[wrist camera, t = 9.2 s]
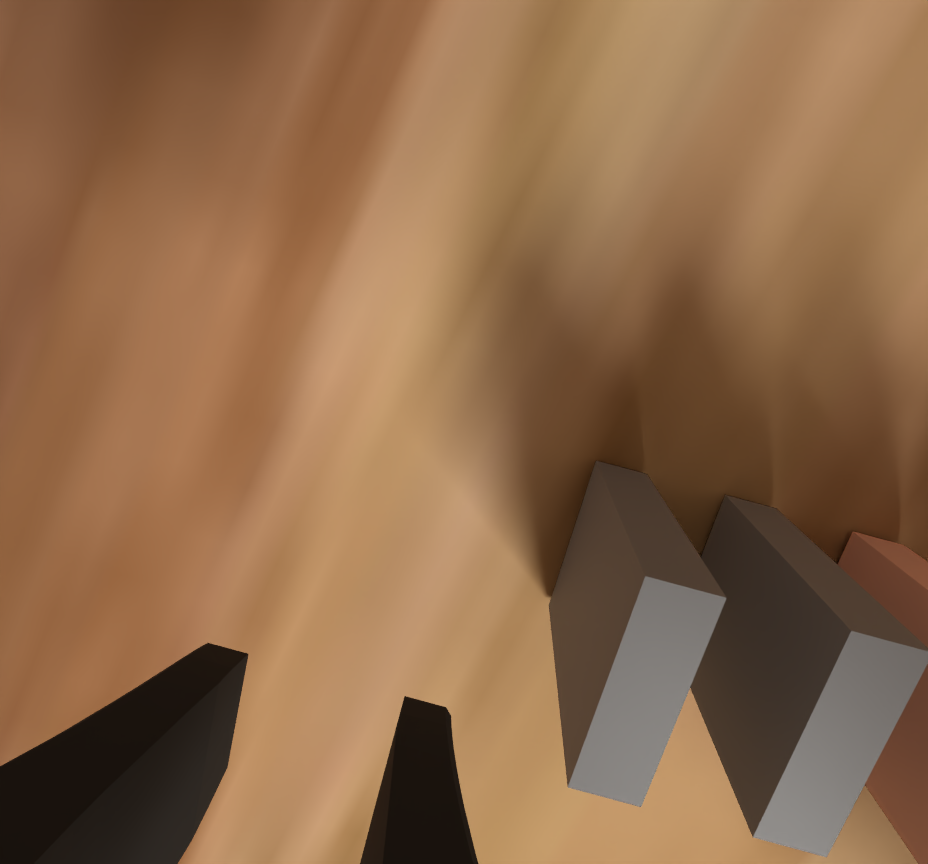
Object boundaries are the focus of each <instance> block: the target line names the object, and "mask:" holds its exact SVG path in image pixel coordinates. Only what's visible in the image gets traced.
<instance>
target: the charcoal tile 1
mask: <svg viewBox="0 0 928 864" xmlns="http://www.w3.org/2000/svg"><path fill="white" fill-rule="evenodd" d="M726 599H727V597H726V596H725V594H724V593H723V591H722V590H721V588H720V587H719V585H718V583H717V582H716V580H715V579H714V577H713V576H712V574H711V573H710V571H709V570H708V568H707V566H706V565H705V563H704V562H703V560H702V559H701V557H700V556H699V554H698V552H697V551H696V549H695V548H694V546H693V545H692V543H691V542H690V540H689V539H688V537H687V535H686V534H685V532H684V531H683V529H682V528H681V526H680V525H679V523H678V521H677V520H676V518H675V517H674V515H673V514H672V512H671V511H670V509H669V507H668V506H667V504H666V503H665V501H664V500H663V498H662V497H661V495H660V494H659V492H658V490H657V489H656V487H655V486H654V484H653V483H652V481H651V480H650V478H649V476H648V475H647V474H645V473H641V472H637V471H633V470H630V469H626V468H622V467H618V466H615V465H611V464H607V463H603V462H599V461H596V462H595V465H594V468H593V472H592V475H591V478H590V481H589V484H588V487H587V490H586V493H585V496H584V499H583V502H582V505H581V508H580V511H579V514H578V518H577V521H576V524H575V527H574V530H573V533H572V536H571V539H570V542H569V545H568V548H567V551H566V554H565V557H564V560H563V564H562V567H561V570H560V573H559V576H558V579H557V582H556V585H555V588H554V591H553V594H552V597H551V600H550V603H549V612H550V621H551V631H552V640H553V650H554V660H555V669H556V679H557V688H558V698H559V708H560V717H561V727H562V736H563V746H564V756H565V765H566V775H567V784H568V787H569V788H572V789H576V790H580V791H583V792H587V793H591V794H595V795H598V796H602V797H606V798H609V799H613V800H617V801H620V802H624V803H628V804H632V805H635V806H639V807H641V806H642V803H643V801H644V799H645V796H646V794H647V791H648V789H649V786H650V784H651V781H652V779H653V777H654V774H655V772H656V769H657V767H658V764H659V762H660V760H661V757H662V755H663V752H664V750H665V747H666V745H667V742H668V740H669V738H670V735H671V733H672V730H673V728H674V725H675V723H676V721H677V718H678V716H679V713H680V711H681V708H682V706H683V703H684V701H685V699H686V696H687V694H688V691H689V689H690V686H691V684H692V682H693V679H694V677H695V674H696V672H697V669H698V667H699V664H700V662H701V660H702V657H703V655H704V652H705V650H706V647H707V645H708V643H709V640H710V638H711V635H712V633H713V630H714V628H715V625H716V623H717V621H718V618H719V616H720V613H721V611H722V608H723V606H724V604H725V601H726Z"/></svg>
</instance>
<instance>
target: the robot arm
mask: <svg viewBox="0 0 928 864" xmlns="http://www.w3.org/2000/svg"><path fill="white" fill-rule="evenodd" d="M247 659H248V654H247V653H243V652H240V651H236V650H232V649H228V648H225V647H221V646H217V645H214V644H210V643H207V644H205V645H203V646H201V647H200V648H198V649H196V650H195V651H193V652H191V653H190V654H188V655H187V656H185V657H183V658H182V659H180V660H179V661H177V662H176V663H174V664H173V665H171V666H169V667H168V668H166V669H165V670H163V671H162V672H160V673H158V674H157V675H155V676H154V677H152V678H151V679H149V680H147V681H146V682H144V683H143V684H141V685H139V686H138V687H136V688H135V689H133V690H131V691H130V692H128V693H127V694H125V695H124V696H122V697H120V698H119V699H117V700H115V701H114V702H112V703H110V704H109V705H107V706H105V707H104V708H102V709H100V710H99V711H97V712H95V713H94V714H92V715H90V716H89V717H87V718H85V719H84V720H82V721H80V722H79V723H77V724H75V725H74V726H72V727H70V728H69V729H67V730H65V731H63V732H62V733H60V734H58V735H56V736H55V737H53V738H51V739H49V740H47V741H46V742H44V743H42V744H40V745H38V746H37V747H35V748H33V749H31V750H29V751H27V752H26V753H24V754H22V755H20V756H18V757H16V758H15V759H13V760H11V761H9V762H7V763H5V764H4V765H2V766H0V864H178V862H179V860H180V859H181V857H182V855H183V854H184V852H185V851H186V849H187V847H188V846H189V844H190V842H191V841H192V839H193V837H194V835H195V833H196V831H197V829H198V827H199V825H200V823H201V821H202V819H203V817H204V815H205V813H206V811H207V809H208V807H209V804H210V802H211V800H212V798H213V796H214V794H215V792H216V790H217V788H218V786H219V784H220V782H221V779H222V777H223V775H224V773H225V771H226V769H227V766H228V761H229V756H230V750H231V745H232V739H233V734H234V729H235V723H236V718H237V713H238V707H239V702H240V696H241V691H242V686H243V680H244V675H245V670H246V664H247ZM360 864H478V861H477V858H476V854H475V850H474V846H473V841H472V837H471V833H470V829H469V825H468V821H467V817H466V813H465V808H464V804H463V799H462V794H461V789H460V784H459V778H458V773H457V767H456V761H455V755H454V747H453V739H452V728H451V715H450V714H449V712H448V710H447V708H446V707H443V706H439V705H435V704H432V703H428V702H424V701H421V700H417V699H413V698H409V697H406V696H405V697H404V701H403V705H402V708H401V712H400V716H399V719H398V723H397V727H396V731H395V734H394V738H393V742H392V745H391V749H390V753H389V757H388V760H387V764H386V768H385V772H384V775H383V779H382V783H381V786H380V790H379V794H378V798H377V801H376V805H375V809H374V813H373V816H372V820H371V824H370V828H369V832H368V836H367V839H366V843H365V847H364V851H363V855H362V859H361V863H360Z"/></svg>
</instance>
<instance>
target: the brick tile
mask: <svg viewBox="0 0 928 864" xmlns="http://www.w3.org/2000/svg"><path fill="white" fill-rule="evenodd" d="M838 566H839V567H841V568H842V569H843V570H844V571H845V572H846V573H847V574H848V575H849V576H850V577H851V578H853V579H854V580H855V581H856V582H857V583H858V584H859V585H860V586H861V587H862V588H863V589H864V590H866V591H867V592H868V593H869V594H870V595H871V596H872V597H873V598H874V599H875V600H876V601H878V602H879V603H880V604H881V605H882V606H883V607H884V608H885V609H886V610H887V611H888V612H890V613H891V614H892V615H893V616H894V617H895V618H896V619H897V620H898V621H899V622H900V623H901V624H903V625H904V626H905V627H906V628H907V629H908V630H909V631H910V632H911V633H912V634H913V635H915V636H916V637H917V638H918V639H919V640H920V641H921V642H922V643H923V644H924V645H925V646H927V647H928V562H927V561H926V560H924V559H923V558H921V557H920V556H919V555H917V554H916V553H914V552H913V551H912V550H910V549H909V548H907V547H906V546H905V545H902V544H898V543H894V542H891V541H887V540H883V539H879V538H876V537H872V536H868V535H864V534H861V533H857V532H852V534H851V536H850V539H849V541H848V543H847V545H846V547H845V549H844V552H843V554H842V556H841V558H840V560H839V563H838ZM865 786H866V787H867V788H868V790H869V791H870V793H871V794H872V796H873V797H874V799H875V800H876V802H877V803H878V805H879V806H880V808H881V809H882V811H883V812H884V814H885V815H886V817H887V818H888V819H889V821H890V822H891V824H892V825H893V827H894V828H895V830H896V831H897V833H898V834H899V836H900V837H901V839H902V840H903V842H904V843H905V845H906V846H907V848H908V849H909V850H910V852H911V853H912V855H913V856H914V858H915V859H916V861H917V862H918V864H928V664H927V666H926V668H925V670H924V672H923V674H922V676H921V678H920V679H919V681H918V683H917V685H916V687H915V689H914V691H913V693H912V695H911V697H910V699H909V701H908V702H907V704H906V706H905V708H904V710H903V712H902V714H901V716H900V718H899V720H898V722H897V724H896V725H895V727H894V729H893V731H892V733H891V735H890V737H889V739H888V741H887V743H886V745H885V746H884V748H883V750H882V752H881V754H880V756H879V758H878V760H877V762H876V764H875V766H874V768H873V769H872V771H871V773H870V775H869V777H868V779H867V781H866V783H865Z"/></svg>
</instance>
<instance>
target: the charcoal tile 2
mask: <svg viewBox="0 0 928 864" xmlns="http://www.w3.org/2000/svg"><path fill="white" fill-rule="evenodd" d="M701 559H702V560H703V562H704V563H705V565H706V566H707V568H708V570H709V571H710V573H711V574H712V576H713V577H714V579H715V580H716V582H717V583H718V585H719V587H720V588H721V590H722V591H723V593H724V594H725V596H726V597H727V599H726V601H725V604H724V606H723V608H722V611H721V613H720V616H719V618H718V621H717V623H716V625H715V628H714V630H713V633H712V635H711V638H710V640H709V643H708V645H707V647H706V650H705V652H704V655H703V657H702V660H701V662H700V664H699V667H698V669H697V672H696V674H695V677H694V679H693V682H692V684H691V686H690V688H691V690H692V693H693V695H694V698H695V700H696V702H697V705H698V707H699V710H700V712H701V714H702V717H703V719H704V721H705V724H706V726H707V729H708V731H709V733H710V736H711V738H712V741H713V743H714V745H715V748H716V750H717V753H718V755H719V757H720V760H721V762H722V765H723V767H724V769H725V772H726V774H727V776H728V779H729V781H730V784H731V786H732V788H733V791H734V793H735V796H736V798H737V800H738V803H739V805H740V808H741V810H742V812H743V815H744V817H745V819H746V822H747V824H748V827H749V829H750V831H751V834H752V836H753V837H754V838H758V839H761V840H765V841H769V842H772V843H776V844H780V845H783V846H787V847H791V848H794V849H798V850H802V851H805V852H809V853H813V854H816V855H820V856H824V857H827V856H828V854H829V852H830V850H831V848H832V846H833V844H834V842H835V840H836V838H837V837H838V835H839V833H840V831H841V829H842V827H843V825H844V823H845V821H846V819H847V817H848V815H849V814H850V812H851V810H852V808H853V806H854V804H855V802H856V800H857V798H858V796H859V794H860V792H861V791H862V789H863V787H864V785H865V783H866V781H867V779H868V777H869V775H870V773H871V771H872V769H873V768H874V766H875V764H876V762H877V760H878V758H879V756H880V754H881V752H882V750H883V748H884V746H885V745H886V743H887V741H888V739H889V737H890V735H891V733H892V731H893V729H894V727H895V725H896V724H897V722H898V720H899V718H900V716H901V714H902V712H903V710H904V708H905V706H906V704H907V702H908V701H909V699H910V697H911V695H912V693H913V691H914V689H915V687H916V685H917V683H918V681H919V679H920V678H921V676H922V674H923V672H924V670H925V668H926V666H927V664H928V647H927V646H925V645H924V644H923V643H922V642H921V641H920V640H919V639H918V638H917V637H916V636H915V635H913V634H912V633H911V632H910V631H909V630H908V629H907V628H906V627H905V626H904V625H903V624H901V623H900V622H899V621H898V620H897V619H896V618H895V617H894V616H893V615H892V614H891V613H890V612H888V611H887V610H886V609H885V608H884V607H883V606H882V605H881V604H880V603H879V602H878V601H876V600H875V599H874V598H873V597H872V596H871V595H870V594H869V593H868V592H867V591H866V590H864V589H863V588H862V587H861V586H860V585H859V584H858V583H857V582H856V581H855V580H854V579H853V578H851V577H850V576H849V575H848V574H847V573H846V572H845V571H844V570H843V569H842V568H841V567H839V566H838V565H837V564H836V563H835V562H834V561H833V560H832V559H831V558H830V557H829V556H827V555H826V554H825V553H824V552H823V551H822V550H821V549H820V548H819V547H818V546H817V545H816V544H814V543H813V542H812V541H811V540H810V539H809V538H808V537H807V536H806V535H805V534H804V533H802V532H801V531H800V530H799V529H798V528H797V527H796V526H795V525H794V524H793V523H792V522H790V521H789V520H788V519H787V518H786V517H785V516H784V515H783V514H782V513H781V512H780V511H778V510H777V509H776V508H772V507H769V506H765V505H761V504H757V503H754V502H750V501H746V500H742V499H739V498H735V497H731V496H727V495H725V497H724V499H723V502H722V504H721V507H720V510H719V512H718V515H717V517H716V520H715V522H714V525H713V527H712V530H711V533H710V535H709V538H708V540H707V543H706V545H705V548H704V551H703V553H702V556H701Z"/></svg>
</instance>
